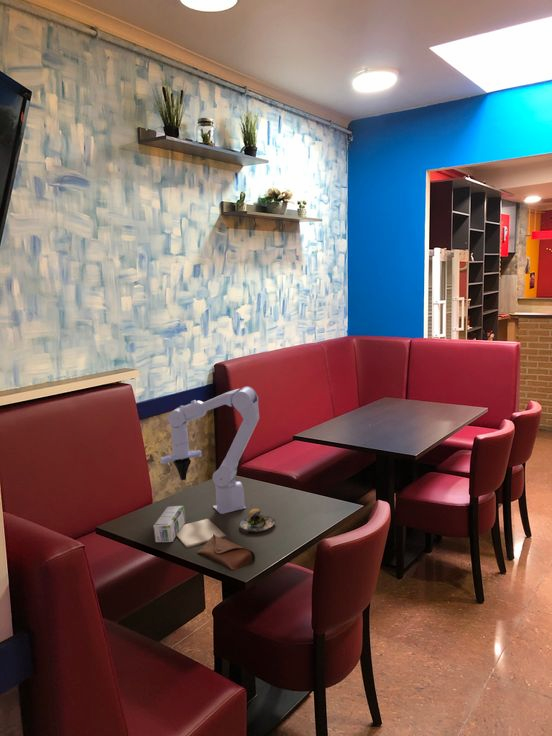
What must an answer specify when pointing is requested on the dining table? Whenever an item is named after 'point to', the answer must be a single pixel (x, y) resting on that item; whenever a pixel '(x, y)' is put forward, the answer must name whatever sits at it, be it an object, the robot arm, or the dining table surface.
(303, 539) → the dining table surface
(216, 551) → the sunglasses case
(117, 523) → the dining table surface
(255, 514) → the burger
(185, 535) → the beige folded napkin
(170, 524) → the syrup box
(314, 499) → the dining table surface
